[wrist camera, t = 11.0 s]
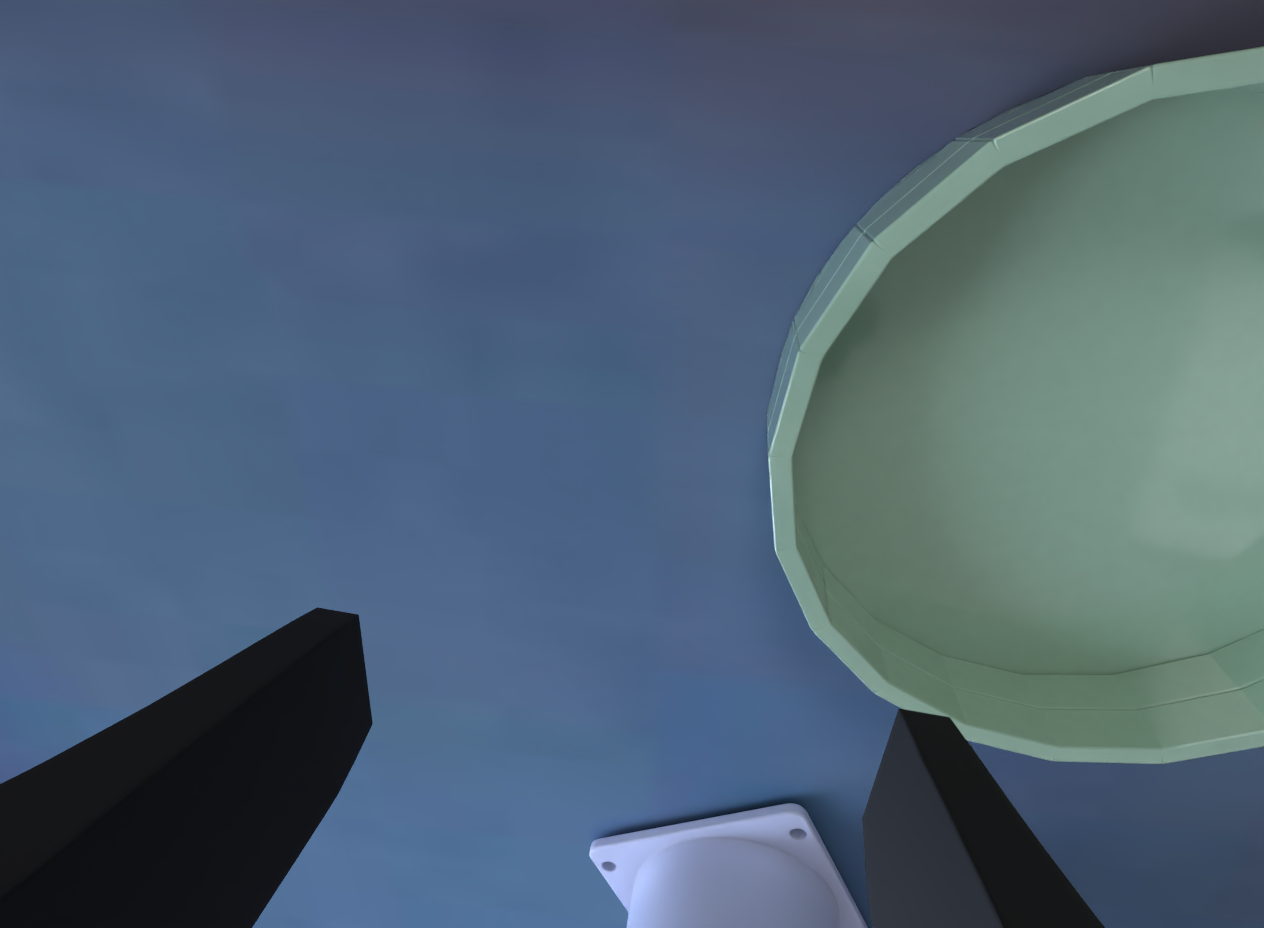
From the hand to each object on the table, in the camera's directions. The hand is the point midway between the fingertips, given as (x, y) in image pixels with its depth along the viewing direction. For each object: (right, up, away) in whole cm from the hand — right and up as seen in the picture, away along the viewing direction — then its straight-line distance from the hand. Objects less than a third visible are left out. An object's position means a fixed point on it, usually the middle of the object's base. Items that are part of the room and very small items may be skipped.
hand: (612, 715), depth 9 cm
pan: (+11, +4, +7) cm, 13 cm away
